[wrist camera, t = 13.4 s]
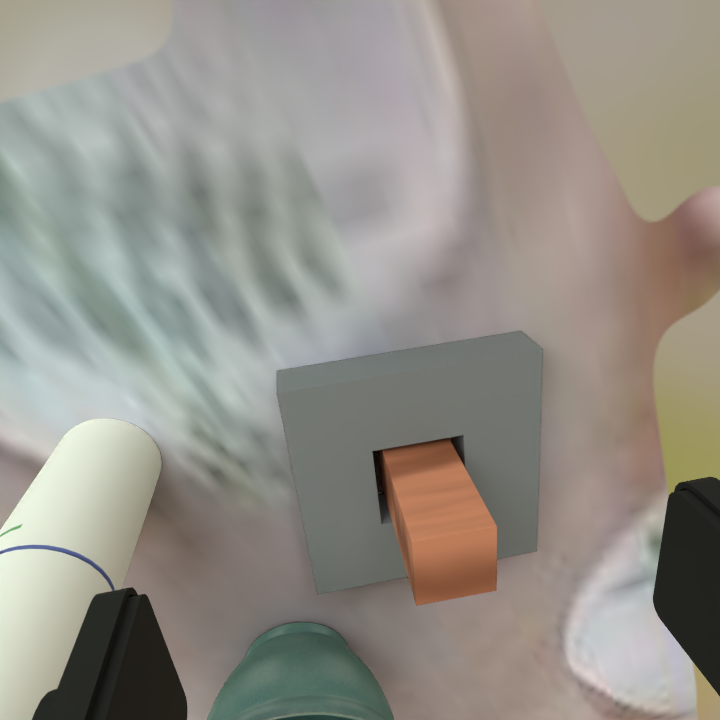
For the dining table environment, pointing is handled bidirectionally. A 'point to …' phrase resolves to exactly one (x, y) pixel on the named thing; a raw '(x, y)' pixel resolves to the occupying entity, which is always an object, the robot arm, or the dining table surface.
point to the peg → (439, 521)
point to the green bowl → (301, 680)
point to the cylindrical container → (68, 551)
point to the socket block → (410, 426)
